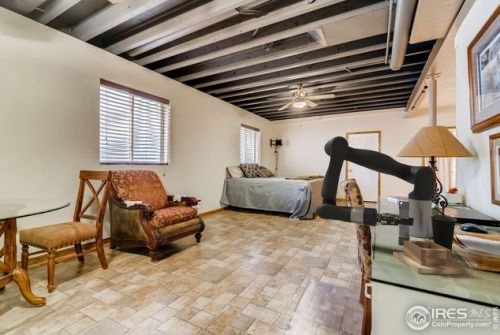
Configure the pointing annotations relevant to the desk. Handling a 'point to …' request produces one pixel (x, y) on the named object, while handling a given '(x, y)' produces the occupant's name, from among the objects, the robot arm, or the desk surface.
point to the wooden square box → (427, 258)
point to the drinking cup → (443, 229)
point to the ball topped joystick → (403, 228)
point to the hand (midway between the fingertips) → (413, 221)
